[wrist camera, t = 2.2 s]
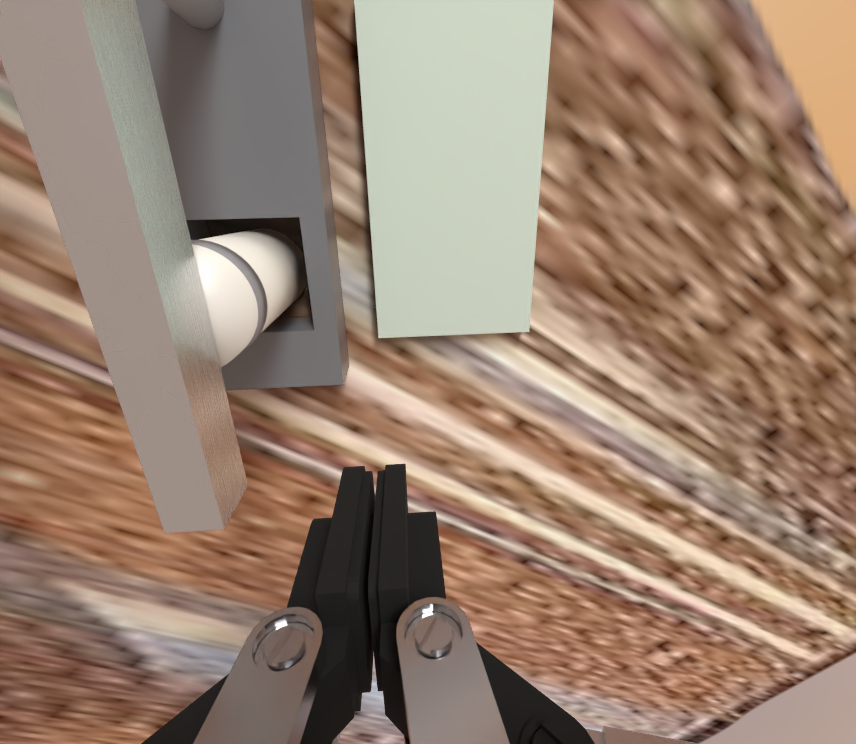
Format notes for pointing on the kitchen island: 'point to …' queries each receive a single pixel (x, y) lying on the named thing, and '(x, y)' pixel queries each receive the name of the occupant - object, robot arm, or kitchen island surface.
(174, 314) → the silver metal bar
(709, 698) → the kitchen island surface
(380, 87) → the mat
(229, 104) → the gray base with post
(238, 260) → the plug
